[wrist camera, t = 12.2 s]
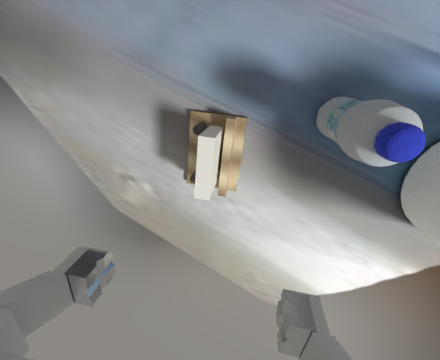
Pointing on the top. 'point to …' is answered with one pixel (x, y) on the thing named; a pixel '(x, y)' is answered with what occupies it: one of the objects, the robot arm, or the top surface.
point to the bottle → (372, 130)
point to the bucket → (424, 193)
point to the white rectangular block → (208, 161)
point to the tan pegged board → (230, 147)
